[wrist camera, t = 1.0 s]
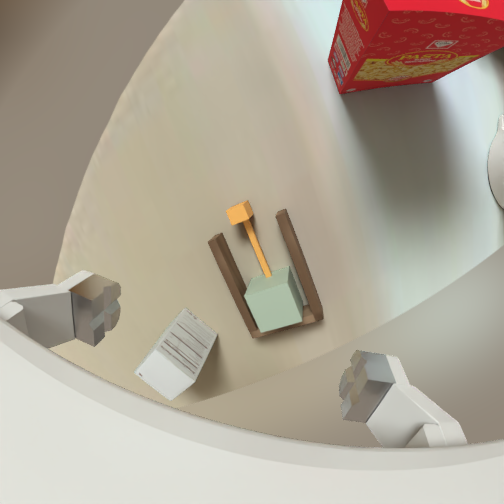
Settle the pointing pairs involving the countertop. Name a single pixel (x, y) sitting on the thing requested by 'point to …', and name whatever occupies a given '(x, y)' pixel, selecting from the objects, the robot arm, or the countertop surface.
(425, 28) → the food packaging
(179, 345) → the supplement box
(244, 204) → the block
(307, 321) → the lane
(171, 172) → the countertop surface
